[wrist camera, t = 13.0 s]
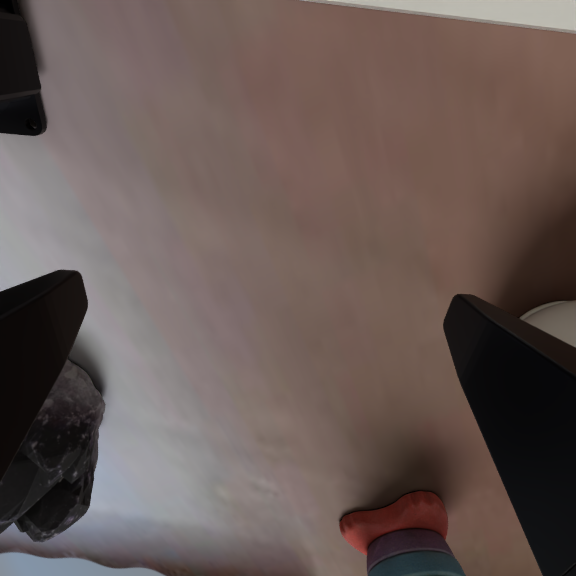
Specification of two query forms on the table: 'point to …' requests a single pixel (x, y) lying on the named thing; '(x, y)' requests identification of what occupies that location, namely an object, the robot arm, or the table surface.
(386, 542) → the stacking bear
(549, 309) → the lidded jar
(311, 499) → the table surface
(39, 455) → the dark rough rock
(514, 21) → the stone board
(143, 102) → the table surface
